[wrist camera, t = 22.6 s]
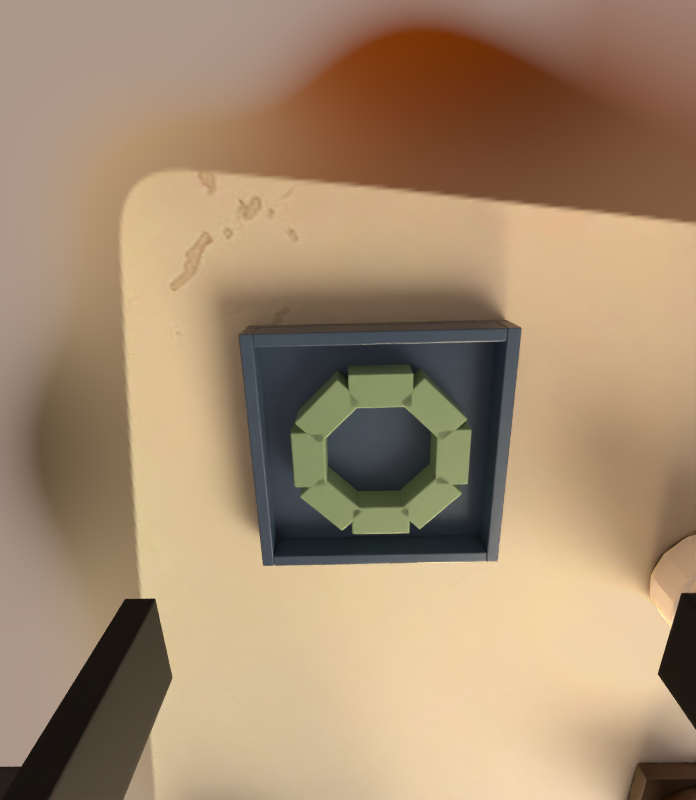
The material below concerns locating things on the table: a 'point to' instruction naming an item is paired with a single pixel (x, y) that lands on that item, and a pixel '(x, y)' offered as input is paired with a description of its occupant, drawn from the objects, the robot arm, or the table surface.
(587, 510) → the table surface
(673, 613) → the white cup
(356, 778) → the table surface
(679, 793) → the peg stand
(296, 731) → the table surface
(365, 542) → the tray
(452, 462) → the ring
